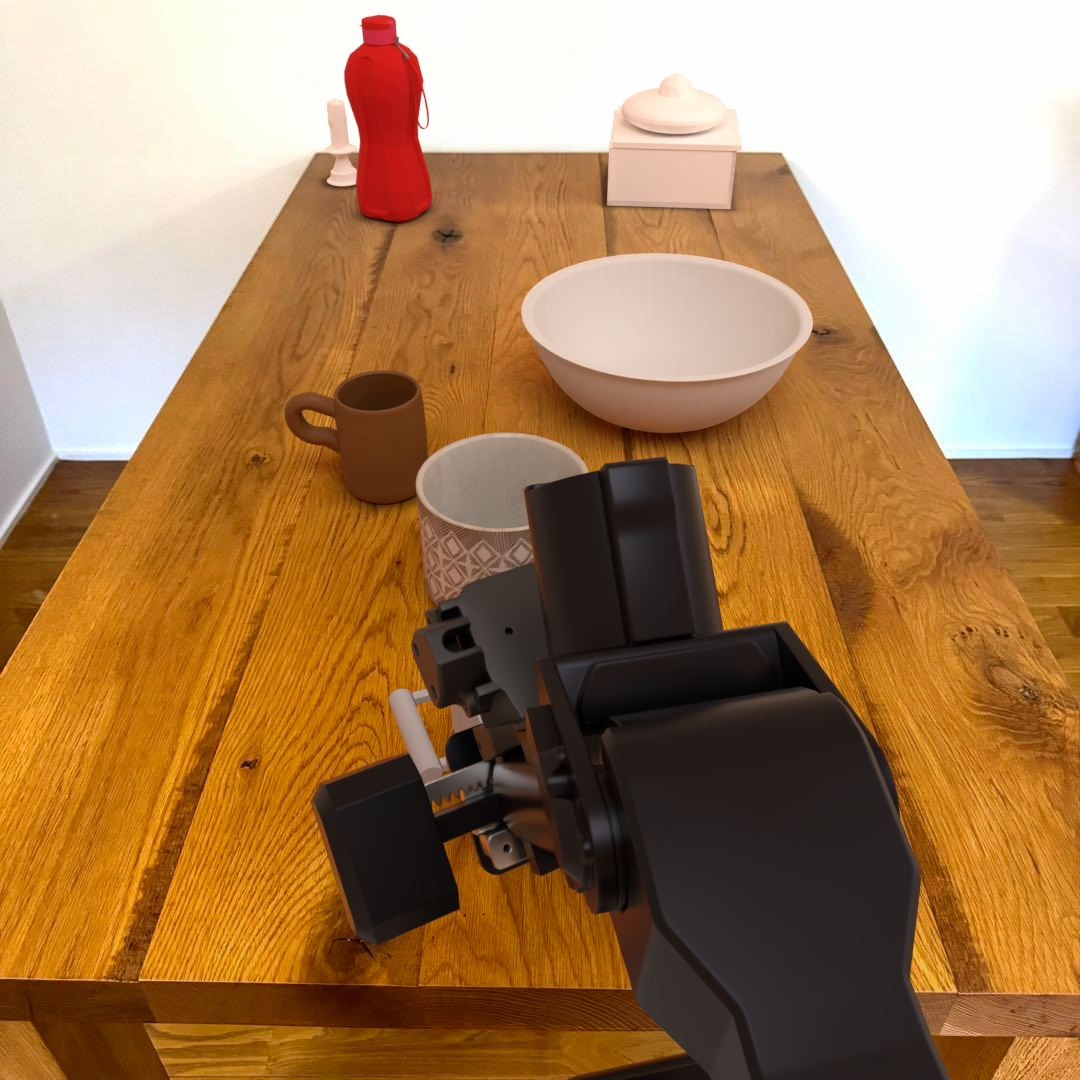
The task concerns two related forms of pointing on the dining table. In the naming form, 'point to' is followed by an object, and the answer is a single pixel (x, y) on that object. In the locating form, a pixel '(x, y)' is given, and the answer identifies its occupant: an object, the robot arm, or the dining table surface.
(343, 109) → the candle
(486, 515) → the planter
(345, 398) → the mug
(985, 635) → the dining table surface
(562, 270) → the bowl
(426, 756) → the drawer
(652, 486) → the robot arm
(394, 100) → the water bottle
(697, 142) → the pink lidded box
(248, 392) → the dining table surface
